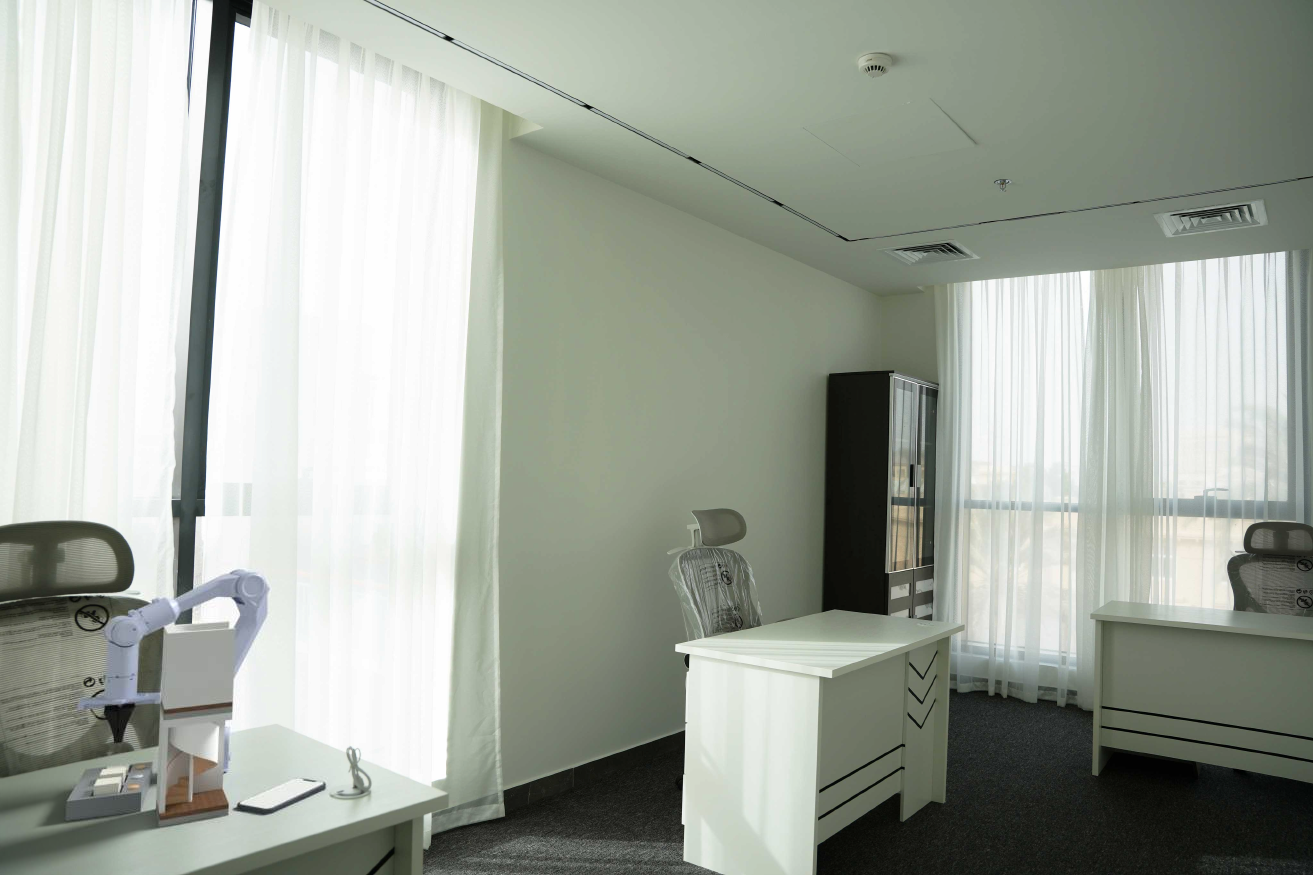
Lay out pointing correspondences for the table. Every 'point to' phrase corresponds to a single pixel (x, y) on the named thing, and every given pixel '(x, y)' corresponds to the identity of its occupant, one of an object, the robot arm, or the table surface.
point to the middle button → (114, 773)
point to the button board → (127, 801)
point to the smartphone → (281, 796)
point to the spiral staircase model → (194, 721)
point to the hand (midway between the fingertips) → (118, 741)
